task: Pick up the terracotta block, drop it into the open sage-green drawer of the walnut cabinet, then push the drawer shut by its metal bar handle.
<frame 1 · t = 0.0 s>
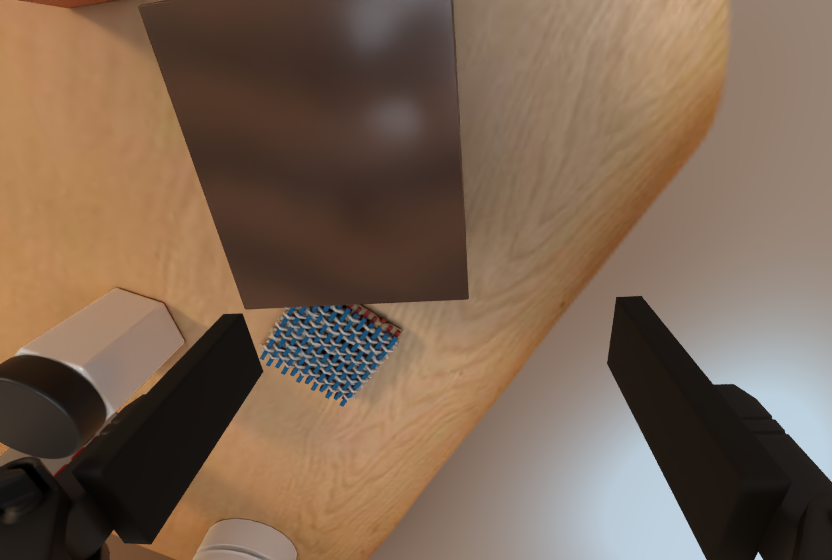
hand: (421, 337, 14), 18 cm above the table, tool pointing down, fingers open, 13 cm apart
cabinet: (364, 141, 29), on the table
jar: (142, 325, 39), on the table
woven mat: (332, 335, 38), on the table
honey pot: (252, 545, 56), on the table
thermos bottle: (96, 421, 47), on the table
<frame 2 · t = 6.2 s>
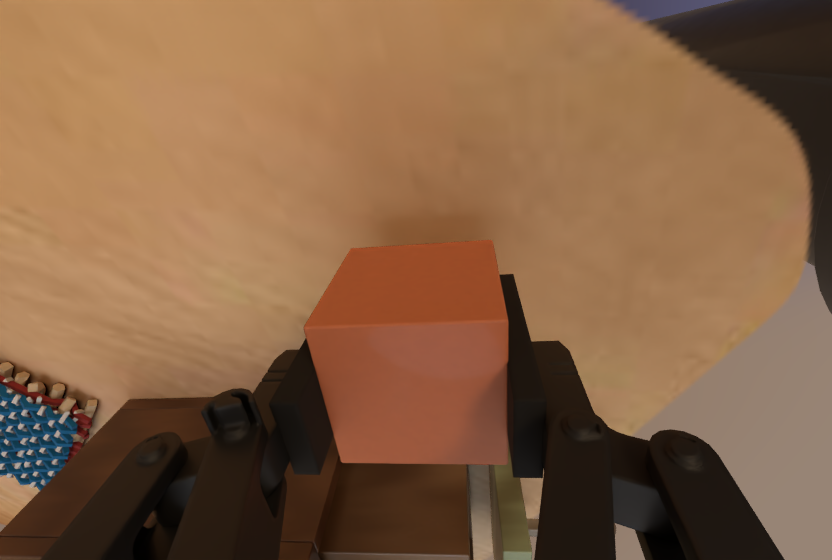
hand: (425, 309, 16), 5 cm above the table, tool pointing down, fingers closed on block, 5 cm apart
cabinet: (268, 467, 29), on the table
block: (426, 304, 16), point 5 cm above the table, touching gripper
woven mat: (20, 409, 29), on the table
drawer: (429, 539, 23), point 5 cm above the table, slide at 8.0 cm
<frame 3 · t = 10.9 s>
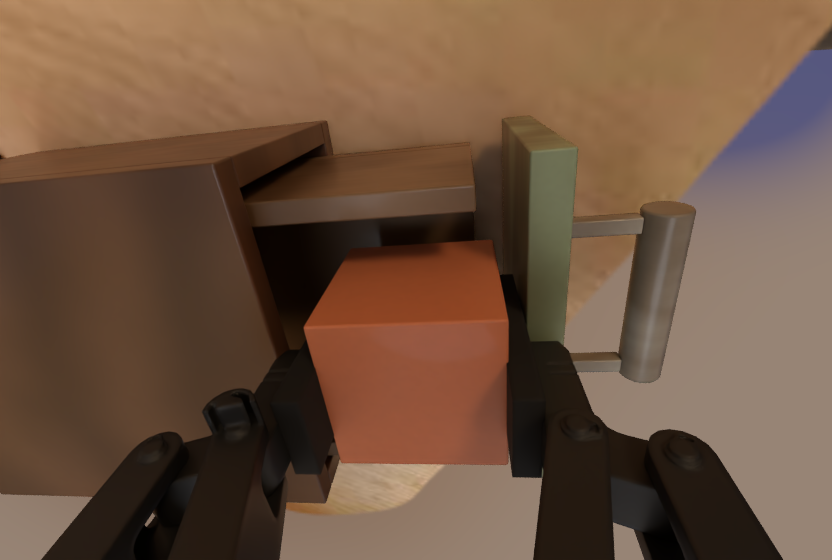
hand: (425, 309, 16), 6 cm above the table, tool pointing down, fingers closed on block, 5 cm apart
cabinet: (220, 262, 23), on the table
block: (426, 304, 16), point 6 cm above the table, touching gripper
drawer: (420, 295, 17), point 5 cm above the table, slide at 8.0 cm
when the fingers open (6 cm above the table, at t = 11.0 s): block drops 4 cm, resting on drawer.
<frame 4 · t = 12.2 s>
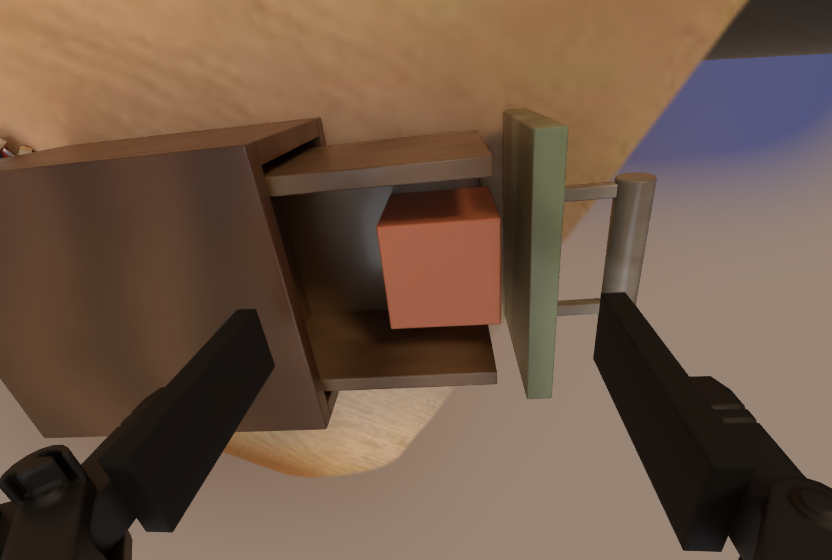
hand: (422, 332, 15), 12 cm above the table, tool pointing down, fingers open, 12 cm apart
cabinet: (227, 241, 26), on the table
block: (441, 236, 23), point 2 cm above the table, touching drawer
drawer: (440, 255, 21), point 5 cm above the table, slide at 10.0 cm, touching block
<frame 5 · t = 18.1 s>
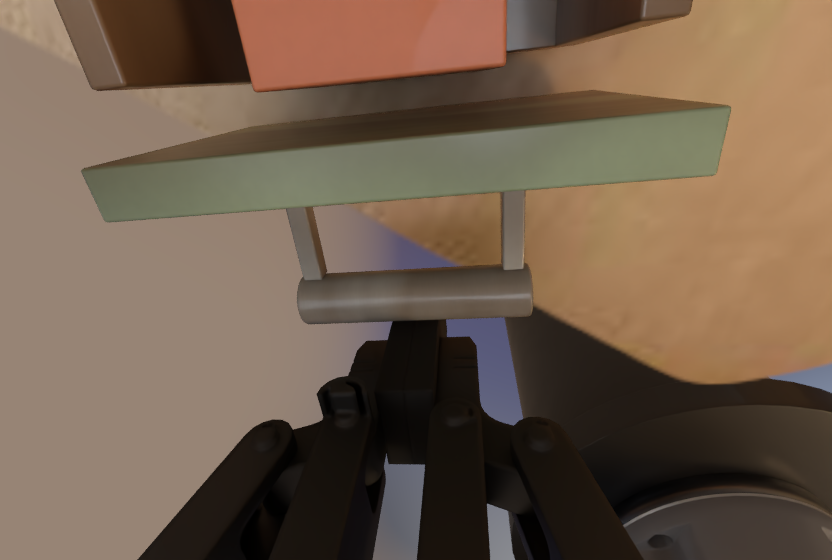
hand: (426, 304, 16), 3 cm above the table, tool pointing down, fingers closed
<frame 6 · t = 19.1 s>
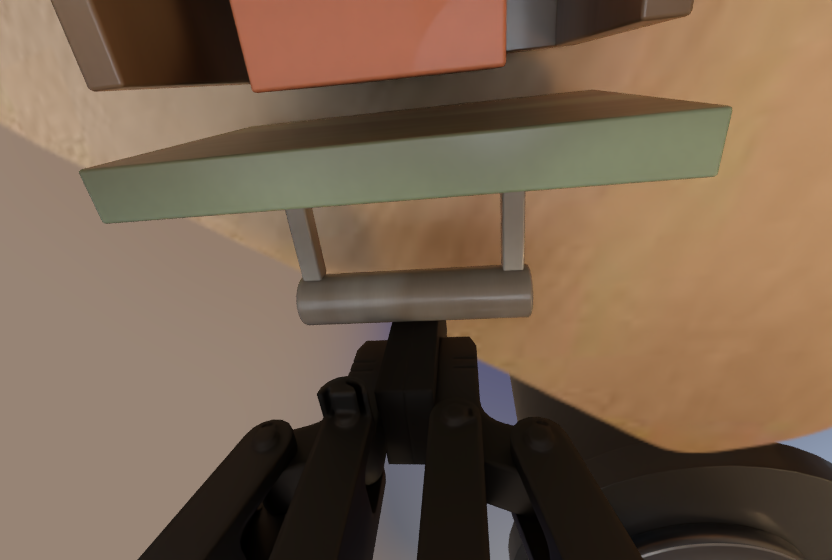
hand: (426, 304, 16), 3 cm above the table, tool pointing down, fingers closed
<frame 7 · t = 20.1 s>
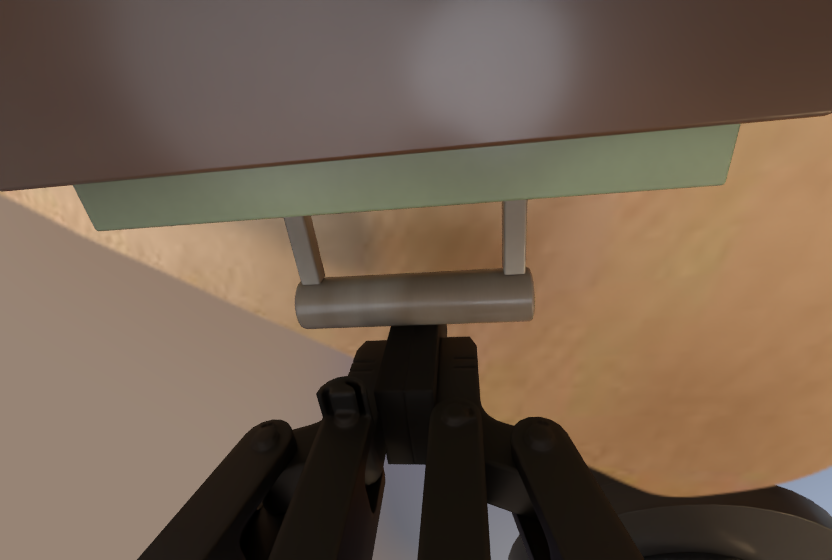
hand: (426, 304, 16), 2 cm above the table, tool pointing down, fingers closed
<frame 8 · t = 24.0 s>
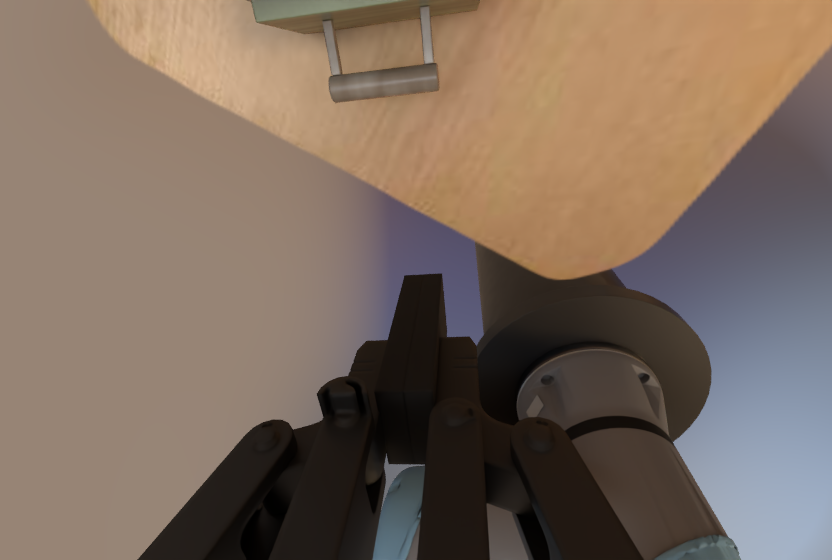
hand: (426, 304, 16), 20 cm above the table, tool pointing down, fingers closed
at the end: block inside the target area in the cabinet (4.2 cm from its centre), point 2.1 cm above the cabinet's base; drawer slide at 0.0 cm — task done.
